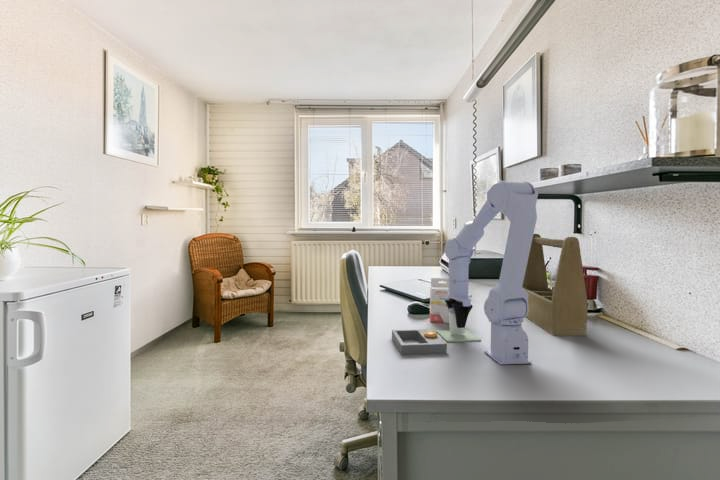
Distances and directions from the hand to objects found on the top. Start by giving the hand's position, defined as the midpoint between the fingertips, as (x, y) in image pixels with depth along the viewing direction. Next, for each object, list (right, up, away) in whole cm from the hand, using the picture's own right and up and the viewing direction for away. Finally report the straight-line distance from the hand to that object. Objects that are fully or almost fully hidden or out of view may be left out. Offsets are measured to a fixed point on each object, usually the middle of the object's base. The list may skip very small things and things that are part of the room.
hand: (458, 325), depth 114 cm
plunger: (-10, -3, -8) cm, 13 cm away
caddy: (+35, -3, +15) cm, 38 cm away
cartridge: (0, -2, 0) cm, 2 cm away
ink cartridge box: (-1, -3, +18) cm, 18 cm away
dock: (-13, -4, -8) cm, 16 cm away
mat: (0, -3, 0) cm, 3 cm away
